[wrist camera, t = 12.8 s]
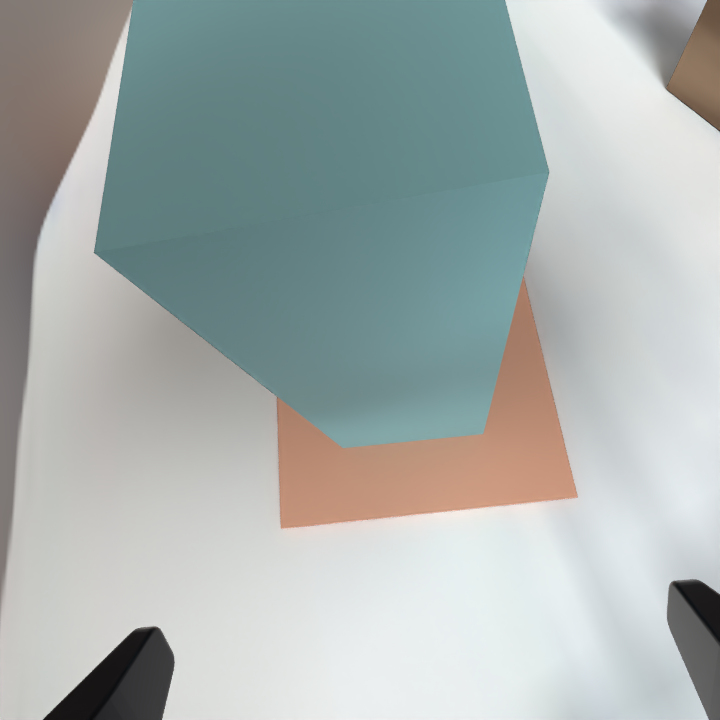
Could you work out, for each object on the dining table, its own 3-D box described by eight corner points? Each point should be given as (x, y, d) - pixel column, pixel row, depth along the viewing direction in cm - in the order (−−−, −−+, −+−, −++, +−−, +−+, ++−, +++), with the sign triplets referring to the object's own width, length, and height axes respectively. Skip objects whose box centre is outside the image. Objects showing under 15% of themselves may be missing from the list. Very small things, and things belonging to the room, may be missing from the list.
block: (483, 434, 17) (549, 172, 5) (342, 448, 17) (94, 253, 6) (463, 305, 19) (473, -121, 7) (336, 323, 19) (138, -29, 7)
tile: (575, 497, 16) (577, 497, 16) (283, 528, 17) (280, 528, 17) (513, 241, 19) (513, 237, 19) (276, 284, 21) (273, 281, 21)
